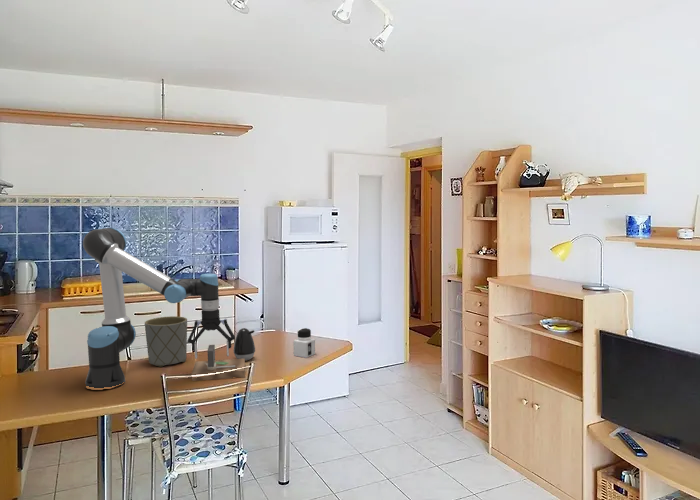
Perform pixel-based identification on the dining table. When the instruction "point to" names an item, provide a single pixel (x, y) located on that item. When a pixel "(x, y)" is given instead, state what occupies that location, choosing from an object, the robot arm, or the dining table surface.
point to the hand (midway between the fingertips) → (212, 356)
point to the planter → (166, 340)
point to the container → (304, 343)
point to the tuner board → (219, 369)
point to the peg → (213, 358)
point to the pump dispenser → (244, 344)
